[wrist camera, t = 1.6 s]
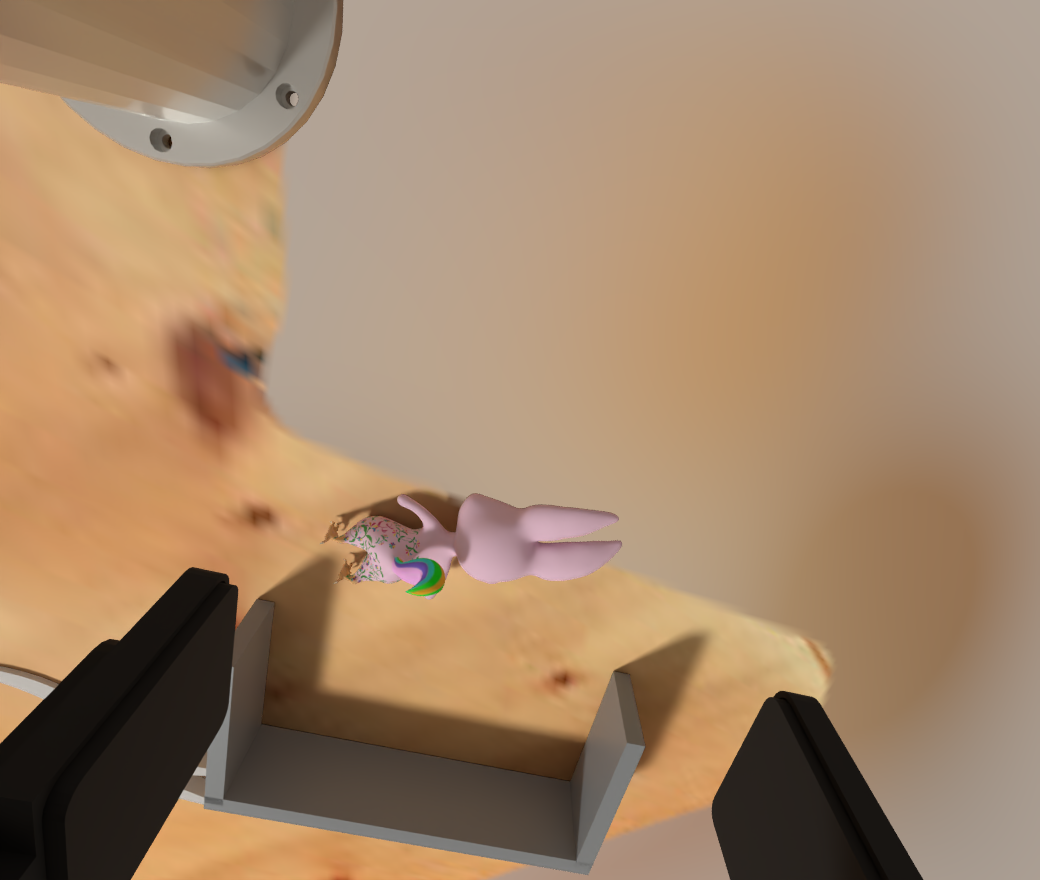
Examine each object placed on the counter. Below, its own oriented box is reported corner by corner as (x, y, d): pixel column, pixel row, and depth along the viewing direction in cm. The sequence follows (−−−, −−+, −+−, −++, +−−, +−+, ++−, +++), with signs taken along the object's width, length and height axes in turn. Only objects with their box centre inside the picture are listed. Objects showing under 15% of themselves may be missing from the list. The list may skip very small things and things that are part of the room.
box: (256, 599, 33) (213, 663, 29) (629, 674, 35) (645, 746, 30) (244, 732, 37) (203, 808, 32) (580, 794, 39) (588, 875, 34)
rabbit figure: (367, 576, 34) (627, 564, 31) (318, 650, 29) (626, 645, 26) (336, 481, 32) (613, 457, 29) (277, 541, 27) (609, 521, 23)
